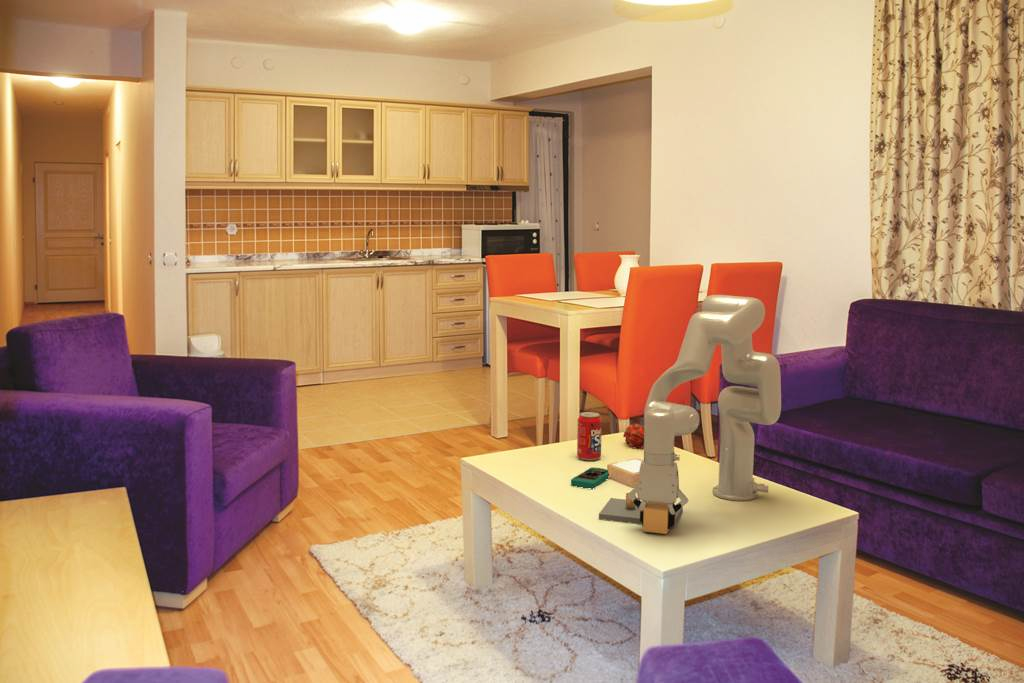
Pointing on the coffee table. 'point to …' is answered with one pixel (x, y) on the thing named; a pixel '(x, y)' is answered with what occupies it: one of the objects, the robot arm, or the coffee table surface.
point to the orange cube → (656, 517)
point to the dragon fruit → (634, 435)
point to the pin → (629, 503)
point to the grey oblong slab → (625, 512)
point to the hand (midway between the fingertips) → (657, 525)
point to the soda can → (589, 436)
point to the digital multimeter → (590, 478)
